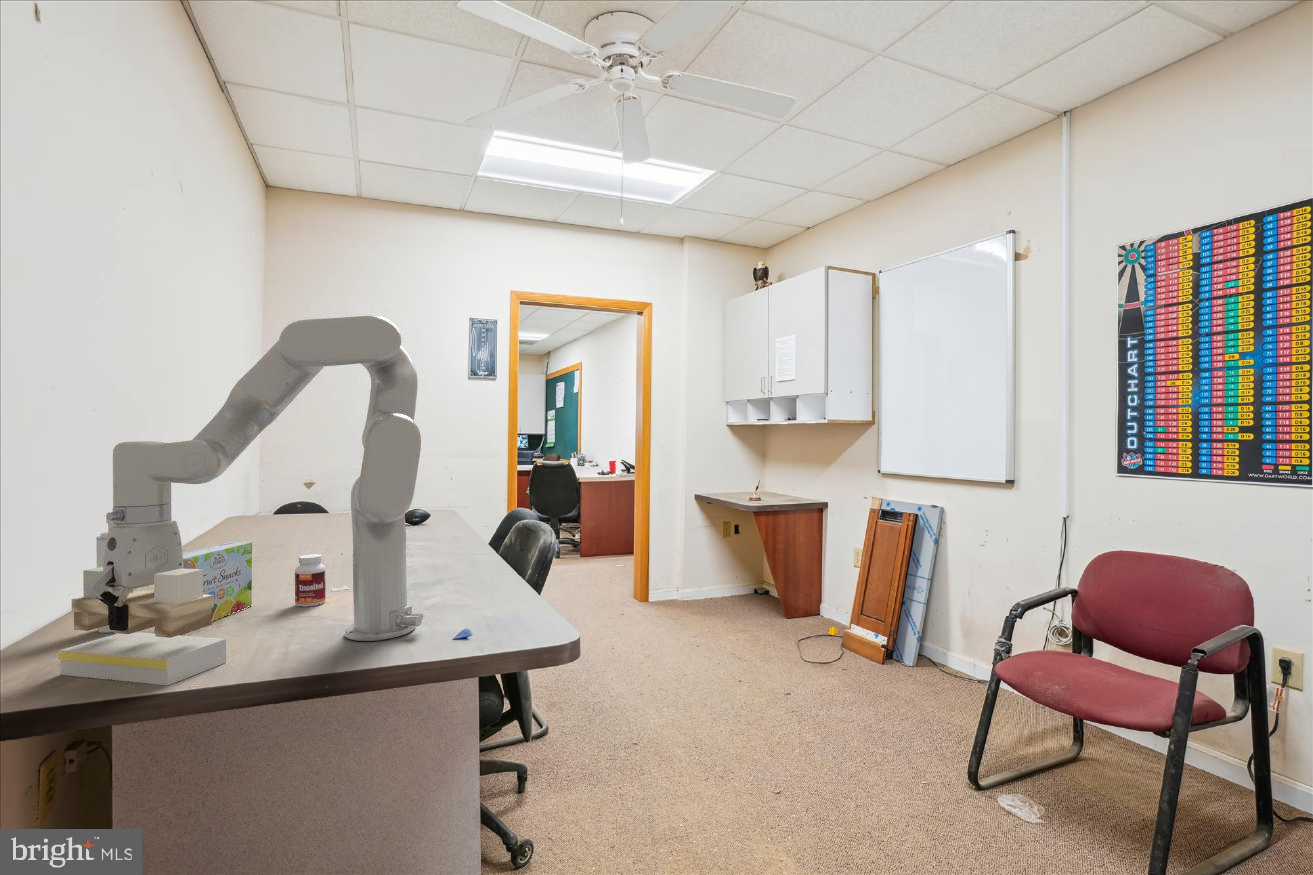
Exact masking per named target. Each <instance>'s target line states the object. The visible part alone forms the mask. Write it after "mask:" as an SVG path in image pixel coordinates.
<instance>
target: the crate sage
mask: <svg viewBox="0 0 1313 875" xmlns="http://www.w3.org/2000/svg"><path fill="white" fill-rule="evenodd" d="M102 571H103V567H99V568H97V567H95V568H89V569H83V571H82V573H83V575H82V576H83V581H82V582H83V584H82V585H83V586H82V587H83V597H84V598H96V596H95V595H93V594H92V593H91V592H90V591H89V590H87V585H88V584H89V583H90V582H91V581H92V580H93V579H94V578H95V577H96V576H97V575H98V574H100V573H101V572H102ZM104 587H105V589H106V590H107V591H108V592H109V590H110V587H106V586H104ZM119 592H120V591H119ZM132 592H133V589H131V590H130V593H132ZM118 594H119V593H118ZM117 596H118V595H117Z"/></svg>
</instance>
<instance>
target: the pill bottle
mask: <svg viewBox="0 0 1313 875" xmlns="http://www.w3.org/2000/svg"><path fill="white" fill-rule="evenodd" d="M322 560H323V557H322V554H319V553H318V554H317V553H316V554H315V553H313V554H312V553H311V554H305V555H300V556H298V563H299V565H298V566H297V567H296V568H295V570H294V602H295V603H294V604H295V606H296V607H299V606H304V607H303V608H307V607H306V606H311V607H316V606H319V604H320V605H323V604H324V603H325V602H326V599H327V598H326V596H327V595H326V592H327V591H326V590H327V588H326V566H325V565H324V564H323V563H322V562H323V561H322Z"/></svg>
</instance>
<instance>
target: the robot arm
mask: <svg viewBox="0 0 1313 875" xmlns="http://www.w3.org/2000/svg"><path fill="white" fill-rule="evenodd" d="M278 338H279V339H278V340H277V341H276V342H275V343H274V344H273V346H271V348H269V349H268V350H267V352H266V353H265V354H264V355H263V356H262V357H261V358H260V359H259V360H258V361H257V362H256V363H255V364H254V365H253V366H252V367H251V368H250V369H249V370H248V371H247V372H246V373H245V374H244V375H243V376H242V377H241V378H239V380H237V382H236V384H234V386H233V387H232V389H231V390H230V392H229V395H228V397H227V399H226V401H225V402H224V404H223V405H222V406H221V408H220V409H219V411H217V413H216V414H215V415H214V416H213V418H211V420H210V421H208V423H207V424H206V425H205V426H204V427H203V428H202V429H201V430H200V431H199V432H198V433H197V434H196V435H195V436H194V437H193V438H192V439H190V440H183V441H182V440H181V441H175V442H163V441H150V440H149V441H147V440H146V441H143V440H141V441H138V440H137V441H123V442H119V443H118V444H116V445H114V447H113V449H112V511H110V512H107V513H106V514H107V515H106V514H105V518H106V519H107V520H108V521H112V520H113V527H110V528H109V531H108V530H107V532H108V535H107V539H106V544H105V551H104V561H103V571H102V572H101V573H100V574H98V575H97V576H96V577H95V578H94V579H93V580H92V581H91V582H90V583H89V584H88V585H87V590H89V591H90V592H91V593H92V594H93V595H95V596H96V598H97V599H99V600H100V601H101V602H103V604H104V605H105V606H108V624H109V629H110V630H116V631H125V630H127V629H128V620H129V616H128V605H124V603H125V601H126V599H127V597H128V595H129V593H130V590H131V589H134V588H139V587H140V588H143V587H148V586H154V574H157V573H162V572H167V571H172V570H177V569H181V568H182V569H192V565H191V564H189V563H188V562H186V561H185V560H183V553H184V551H183V544H182V538H181V533H180V529H179V526H178V523H177V520H172V483H175V484H184V485H185V484H186V485H202V484H206V483H209V482H212V481H214V480H215V479H217V478H218V477H220V476H221V475H223V473H224V472H226V471H227V470H228V468H230V466H231V465H232V464H233V463H234V462H235V461H236V460H237V459H238V458H239V456H240V455H242V453H243V452H244V451H245V450H246V449H247V448H248V447H249V446H250V445H251V443H252V442H254V440H255V439H256V438H257V437H258V436H259V435H260V434H261V433H262V432H263V431H264V430H265V429H266V428H267V427H268V426H270V425H271V424H272V423H273V422H274V421H276V420H277V418H278V417H279V416H280V415H281V414H282V412H284V410H285V409H287V408H288V406H290V404H292V402H293V401H294V400H295V399H296V398H297V397H298V396H299V394H300V393H301V392H302V391H303V390H304V389H305V388H306V387H307V385H309V384H310V383H311V381H312V380H313V379H315V377H316V376H317V375H318V374H319V373H320V372H321V371H322V370H323V368H325V367H333V366H334V367H336V366H347V365H357V364H358V365H359V364H360V365H362V366H363V367H364V368H365V369H366V370H367V372H368V374H369V377H370V391H369V401H368V408H367V413H366V420H365V424H364V428H363V431H362V436H361V441H362V447H363V449H364V451H363V454H362V455H363V456H362V464H361V469H360V475H359V476H358V477H357V479H356V480H355V481H354V483H353V485H352V487H351V491H350V512H351V524H352V525H351V527H352V531H351V532H352V580H353V581H352V583H353V584H352V588H353V590H352V592H353V594H352V595H353V623H352V624H350V625H349V626H347V627H346V628H345V630H344V636H345V638H347V639H349V640H352V641H358V642H373V641H375V642H376V641H381V640H382V641H384V640H389V639H393V638H394V639H395V638H398V637H401V636H405V635H407V634H409V633H411V632H413V631H414V629H416V627H420V626H421V625H422V622H423V619H424V614H423V613H421V612H420V613H417V612H416V613H413V605H408V599H407V598H408V595H407V594H408V590H407V589H408V588H407V586H408V585H407V584H408V583H407V579H408V578H407V531H406V529H407V528H406V526H407V525H406V516H405V514H406V513H407V512H408V511H409V509H410V507H411V505H412V502H413V500H414V496H415V494H414V493H415V489H416V483H417V476H418V472H419V471H418V470H419V463H420V456H421V449H422V448H421V447H422V436H421V432H420V429H419V427H418V425H417V424H416V422H415V414H416V408H417V407H416V406H417V397H418V387H419V386H418V374H417V370H416V367H415V365H414V362H413V360H412V359H411V357H410V354H408V352H407V351H406V350H405V349H404V348H403V346H402V336H401V333H400V330H399V329H398V327H397V326H396V324H395V323H393V321H391V320H389V319H387V318H386V317H383V316H380V315H379V316H378V315H361V316H360V315H357V316H343V317H341V316H340V317H327V318H311V319H310V318H309V319H301V320H296V321H293V322H291V323H289V324H287V325H286V326H285V327H284V328H283V330H281V332H280V335H279V337H278ZM104 586H106V587H110V590H109V592H108V591H107V590H106V589H105V587H104ZM119 591H120V592H119ZM118 593H119V594H118ZM117 595H118V596H117Z"/></svg>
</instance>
